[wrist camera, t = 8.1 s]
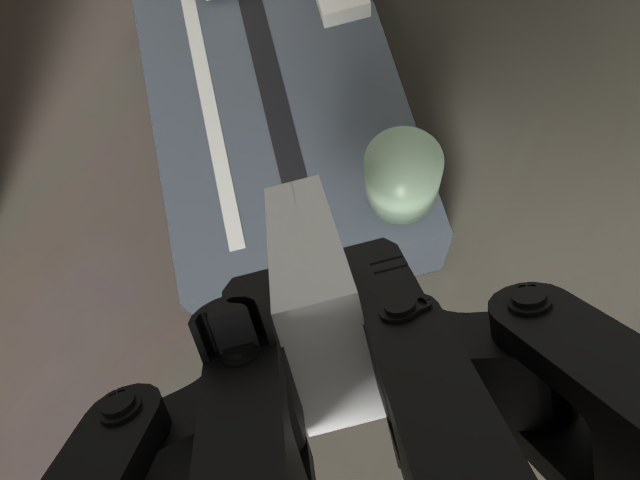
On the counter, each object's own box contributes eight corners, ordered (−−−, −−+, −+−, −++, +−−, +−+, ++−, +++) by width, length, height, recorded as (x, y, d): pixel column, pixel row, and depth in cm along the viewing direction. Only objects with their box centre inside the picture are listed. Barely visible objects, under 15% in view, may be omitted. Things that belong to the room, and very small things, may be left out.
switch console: (441, 269, 25) (456, 227, 21) (209, 328, 25) (173, 299, 21) (338, -50, 32) (331, -135, 27) (152, -3, 32) (115, -80, 27)
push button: (446, 214, 21) (455, 186, 19) (375, 232, 21) (375, 206, 19) (425, 152, 22) (430, 117, 20) (357, 169, 22) (354, 137, 20)
